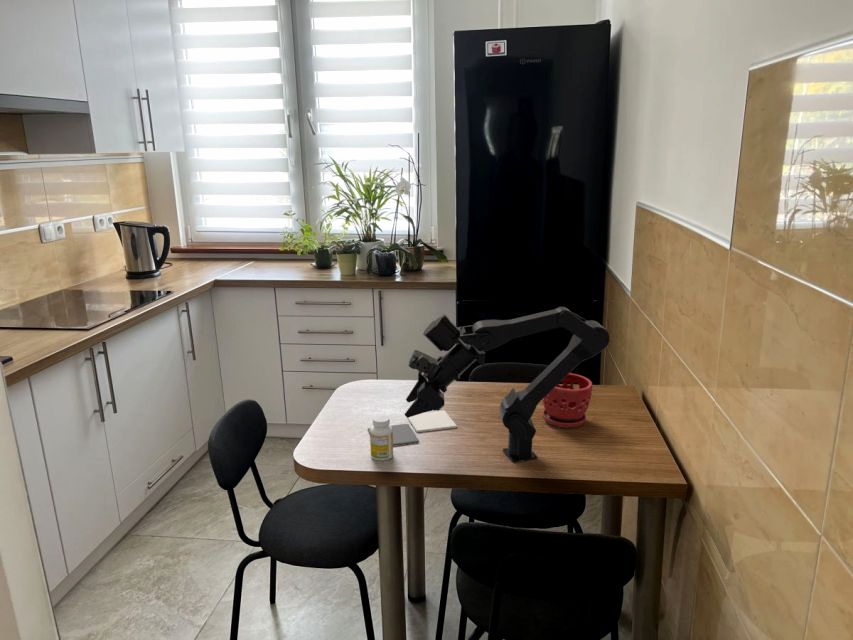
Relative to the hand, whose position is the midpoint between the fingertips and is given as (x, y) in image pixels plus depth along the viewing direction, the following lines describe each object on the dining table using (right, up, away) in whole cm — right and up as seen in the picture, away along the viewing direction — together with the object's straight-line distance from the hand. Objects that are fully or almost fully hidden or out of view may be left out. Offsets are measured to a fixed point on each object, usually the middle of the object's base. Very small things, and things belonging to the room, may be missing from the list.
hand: (406, 408), depth 151 cm
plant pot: (+42, -7, +22) cm, 48 cm away
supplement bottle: (-6, -12, +3) cm, 14 cm away
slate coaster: (-4, -9, +14) cm, 17 cm away
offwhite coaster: (+6, -7, +22) cm, 24 cm away
